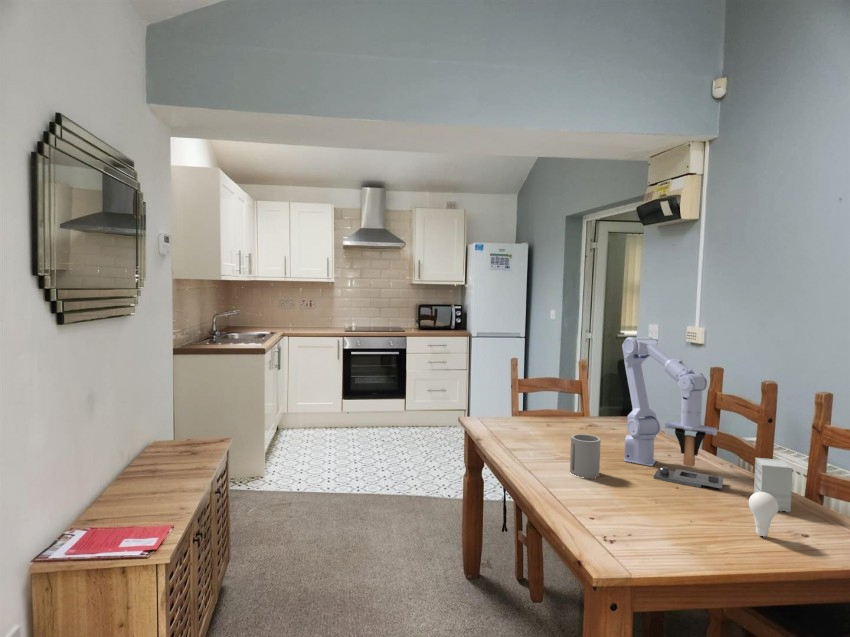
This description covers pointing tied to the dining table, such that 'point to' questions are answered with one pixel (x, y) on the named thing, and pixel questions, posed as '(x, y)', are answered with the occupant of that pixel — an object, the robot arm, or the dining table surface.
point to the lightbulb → (763, 511)
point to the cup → (585, 455)
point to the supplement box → (774, 481)
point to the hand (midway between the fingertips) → (689, 453)
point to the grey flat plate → (688, 478)
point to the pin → (689, 450)
